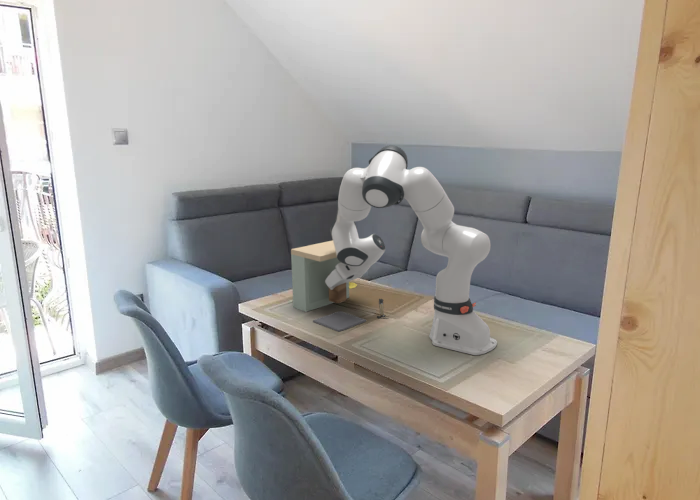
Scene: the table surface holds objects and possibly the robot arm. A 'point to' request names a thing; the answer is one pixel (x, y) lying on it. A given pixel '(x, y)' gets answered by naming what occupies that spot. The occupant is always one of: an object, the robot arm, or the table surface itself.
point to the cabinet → (313, 275)
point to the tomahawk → (381, 310)
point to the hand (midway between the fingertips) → (336, 286)
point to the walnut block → (338, 293)
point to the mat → (339, 321)
